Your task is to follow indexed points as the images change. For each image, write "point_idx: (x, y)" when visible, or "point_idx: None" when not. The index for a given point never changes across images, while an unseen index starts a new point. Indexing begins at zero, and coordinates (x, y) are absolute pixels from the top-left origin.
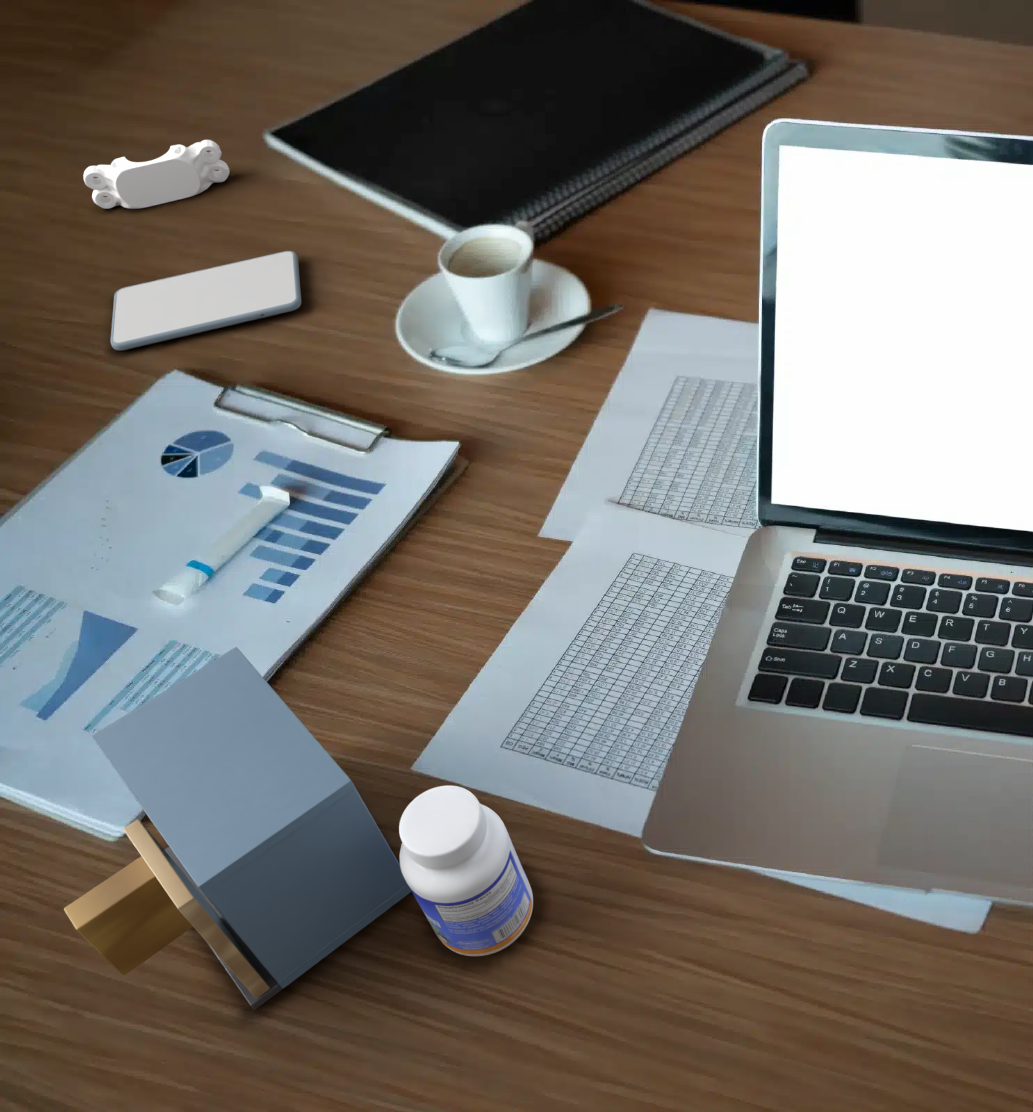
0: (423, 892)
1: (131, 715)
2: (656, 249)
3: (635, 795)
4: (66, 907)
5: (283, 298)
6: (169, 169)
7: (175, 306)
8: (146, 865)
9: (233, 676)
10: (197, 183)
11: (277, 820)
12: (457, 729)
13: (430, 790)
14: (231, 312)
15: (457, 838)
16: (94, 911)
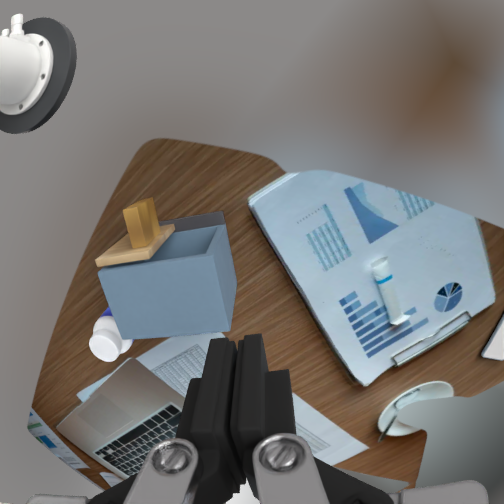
0: (98, 320)
1: (214, 276)
2: (393, 454)
3: (151, 365)
4: (136, 208)
5: (488, 352)
6: None
7: None
8: (140, 246)
9: (209, 324)
10: None
11: (115, 310)
12: (215, 335)
13: (116, 352)
14: (498, 332)
15: (93, 349)
16: (127, 219)
